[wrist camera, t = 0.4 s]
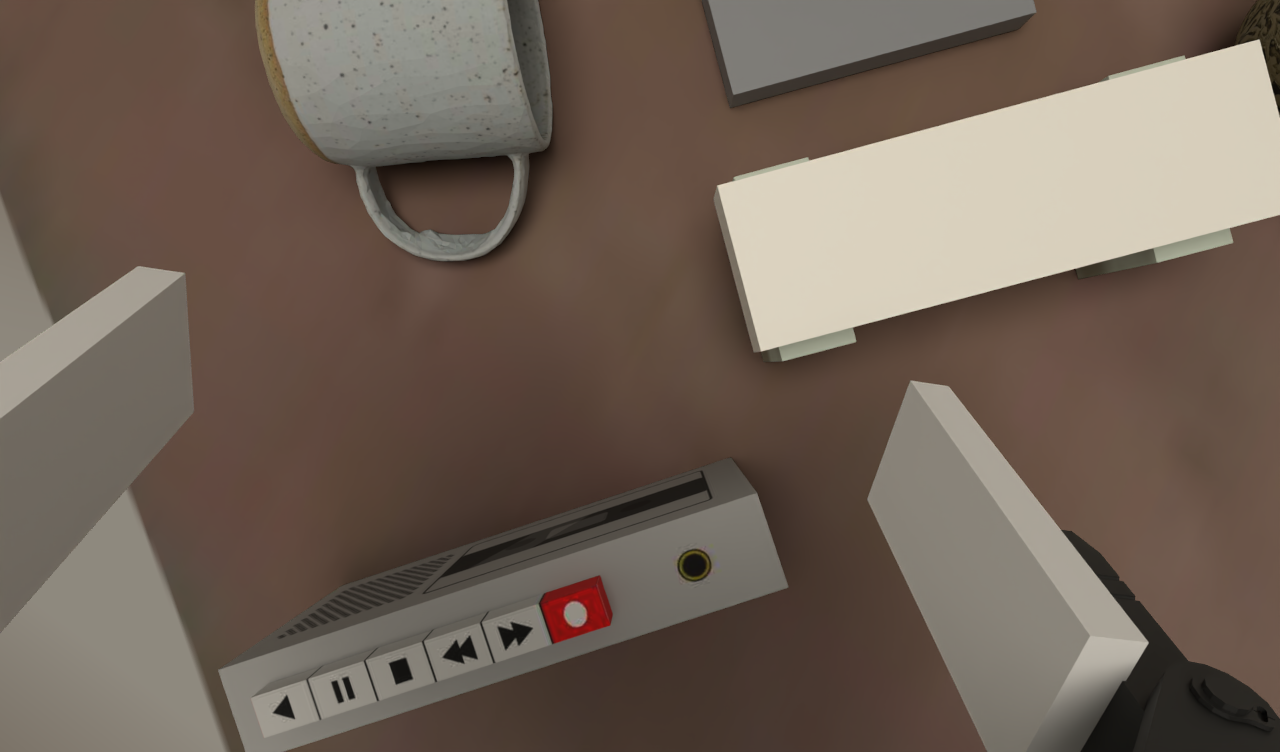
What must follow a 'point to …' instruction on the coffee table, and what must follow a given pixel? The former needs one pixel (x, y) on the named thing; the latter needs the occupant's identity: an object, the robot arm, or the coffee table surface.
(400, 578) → the cassette player
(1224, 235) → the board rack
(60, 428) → the robot arm
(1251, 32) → the cup
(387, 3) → the ceramic mug
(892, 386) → the coffee table surface
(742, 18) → the peg stand
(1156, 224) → the shelf board
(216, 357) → the coffee table surface
